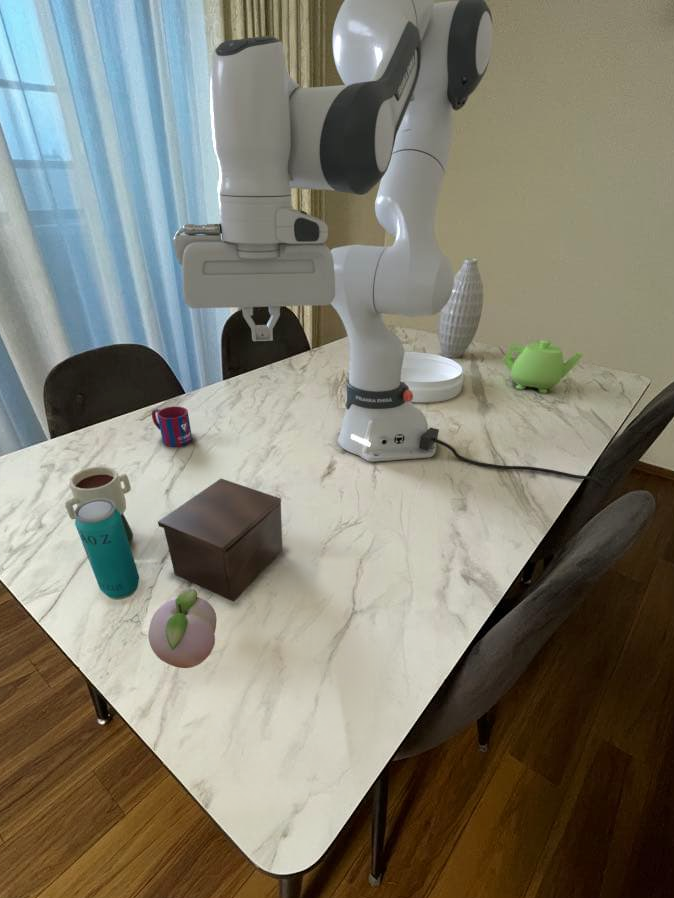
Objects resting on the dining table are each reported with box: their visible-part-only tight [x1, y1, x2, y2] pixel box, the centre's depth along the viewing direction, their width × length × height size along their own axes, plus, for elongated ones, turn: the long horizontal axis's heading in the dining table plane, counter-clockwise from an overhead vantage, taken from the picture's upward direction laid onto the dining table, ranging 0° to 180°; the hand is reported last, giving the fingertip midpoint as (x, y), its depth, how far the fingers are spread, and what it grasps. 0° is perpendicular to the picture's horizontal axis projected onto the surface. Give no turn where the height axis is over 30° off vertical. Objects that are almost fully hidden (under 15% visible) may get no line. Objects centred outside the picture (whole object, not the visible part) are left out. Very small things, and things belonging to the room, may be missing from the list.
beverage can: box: [74, 498, 140, 601], centre depth 67 cm, size 6×6×15 cm
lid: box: [157, 478, 282, 552], centre depth 70 cm, size 14×12×1 cm
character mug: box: [64, 466, 134, 545], centre depth 76 cm, size 11×7×13 cm, turn 142°
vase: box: [438, 258, 484, 359], centre depth 151 cm, size 13×13×28 cm
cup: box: [151, 405, 193, 447], centre depth 108 cm, size 7×10×7 cm
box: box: [163, 502, 283, 603], centre depth 73 cm, size 14×12×10 cm
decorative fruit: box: [147, 588, 218, 669], centre depth 59 cm, size 9×8×10 cm
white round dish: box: [401, 351, 464, 404], centre depth 136 cm, size 27×27×6 cm
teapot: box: [502, 339, 583, 394], centre depth 134 cm, size 20×13×13 cm
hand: (262, 339), depth 67 cm, fingers closed
